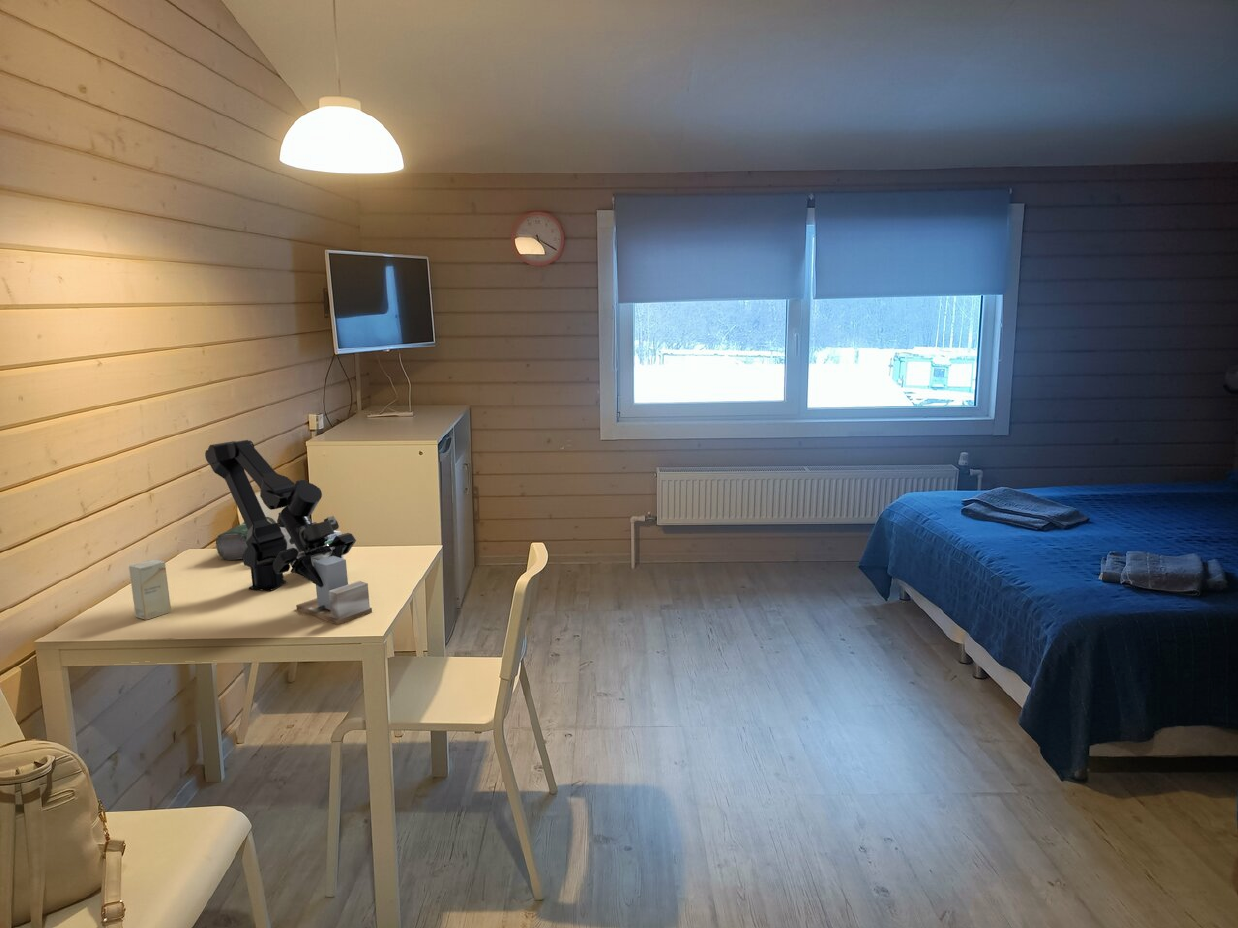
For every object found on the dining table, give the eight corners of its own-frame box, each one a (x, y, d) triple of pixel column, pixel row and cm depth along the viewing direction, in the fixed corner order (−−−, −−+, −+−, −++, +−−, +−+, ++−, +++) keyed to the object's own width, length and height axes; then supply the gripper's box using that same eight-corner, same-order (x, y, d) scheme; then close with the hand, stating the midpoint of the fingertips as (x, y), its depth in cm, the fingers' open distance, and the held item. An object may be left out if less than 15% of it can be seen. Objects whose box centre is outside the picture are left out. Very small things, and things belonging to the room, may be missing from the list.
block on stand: (296, 609, 198) (293, 580, 197) (330, 597, 205) (328, 569, 204) (337, 624, 189) (334, 594, 187) (372, 612, 196) (369, 582, 194)
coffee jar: (251, 559, 234) (283, 539, 252) (245, 531, 232) (278, 513, 250) (217, 562, 235) (252, 542, 253) (211, 534, 233) (246, 516, 251)
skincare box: (145, 620, 193) (138, 569, 191) (134, 617, 196) (127, 565, 193) (172, 611, 199) (165, 561, 196) (161, 608, 201) (154, 558, 198)
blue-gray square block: (312, 607, 195) (307, 562, 193) (336, 598, 200) (332, 555, 198) (329, 613, 191) (324, 568, 189) (353, 604, 196) (349, 560, 194)
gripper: (274, 516, 188) (307, 574, 183) (347, 499, 202) (380, 552, 198) (258, 545, 194) (290, 602, 190) (331, 526, 209) (362, 578, 204)
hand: (332, 582), depth 195 cm, fingers closed on blue-gray square block, 5 cm apart
